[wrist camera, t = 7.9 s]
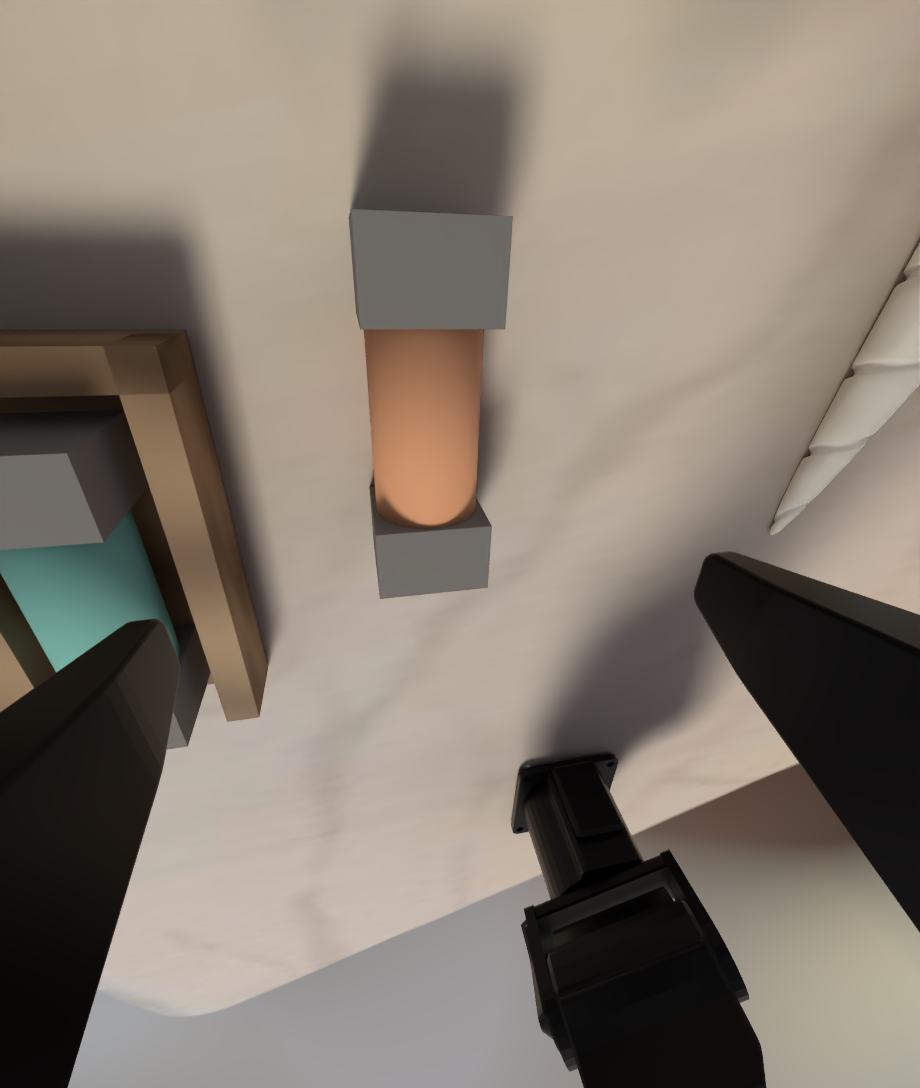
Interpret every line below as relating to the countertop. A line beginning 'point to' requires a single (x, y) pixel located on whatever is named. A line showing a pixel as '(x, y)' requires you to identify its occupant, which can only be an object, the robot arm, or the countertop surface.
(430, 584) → the orange capped cylinder
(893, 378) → the unicorn horn
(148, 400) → the wooden tray
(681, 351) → the countertop surface
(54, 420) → the teal capped cylinder
